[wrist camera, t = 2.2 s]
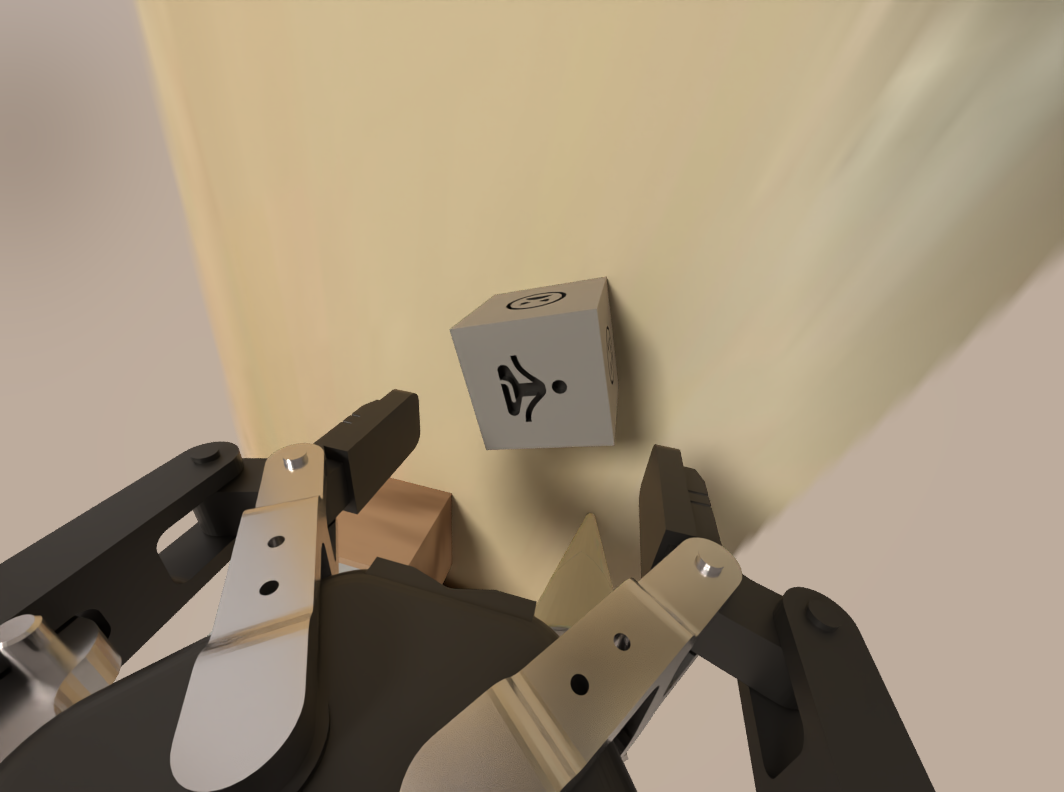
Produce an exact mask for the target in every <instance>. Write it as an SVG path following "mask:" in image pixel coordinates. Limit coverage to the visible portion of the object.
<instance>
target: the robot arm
mask: <svg viewBox="0 0 1064 792" xmlns="http://www.w3.org/2000/svg"><path fill="white" fill-rule="evenodd" d="M419 437H420V416H419V399H418V396H417V394H415V393H411V392H406V391H402V390H397V389H394V390H392V391H391V392H390V393H388V394H387V395H386V396H385V397H383V398H382V399H381V400H375V401H373V402H370V403H368V404H365V405H363V406H361V407H360V408H359V409H358V410H356V411H355V412H354V413H352V416H351V415H350V416H349V417H347V418H346V419H345V420H344V421H343V422H341V423H339V424H338V425H337V426H336V427H334V428H333V429H332V430H330V431H329V432H328V433H326V434H325V435H324V436H323V437H321V438H320V439H319V440H317V441H316V442H315V443H313V444H310V443H300V444H294V445H289V446H286V447H283V448H281V449H279V450H277V451H276V452H274V453H273V454H271V455H270V456H269V457H268V458H242V457H241V454H240V451H239V448H238V447H237V446H236V445H235V444H233V443H230V442H211V443H207V444H202V445H199V446H196V447H193V448H191V449H189V450H187V451H185V452H183V453H182V454H180V455H178V456H177V457H175V458H173V459H172V460H170V461H169V462H167V463H165V464H163V465H162V466H160V467H159V468H157V469H155V470H154V471H152V472H150V473H149V474H147V475H145V476H144V477H142V478H141V479H139V480H137V481H136V482H134V483H132V484H131V485H129V486H127V487H126V488H124V489H122V490H121V491H119V492H118V493H116V494H114V495H113V496H111V497H109V498H108V499H106V500H104V501H103V502H101V503H99V504H98V505H97V506H95V507H93V508H91V509H90V510H88V511H86V512H85V513H83V514H81V515H80V516H78V517H77V518H75V519H73V520H72V521H70V522H68V523H67V524H65V525H63V526H62V527H60V528H58V529H57V530H55V531H54V532H52V533H50V534H49V535H47V536H45V537H44V538H42V539H40V540H39V541H37V542H36V543H34V544H32V545H31V546H29V547H27V548H26V549H24V550H23V551H21V552H19V553H17V554H16V555H15V556H13V557H11V558H9V559H8V560H6V561H4V562H3V563H1V564H0V792H637V790H636V788H635V786H634V784H633V782H632V780H631V778H630V775H629V773H628V771H627V769H626V767H625V765H624V763H623V760H622V757H623V756H624V755H625V753H626V752H627V751H628V749H629V748H630V747H631V746H632V744H633V743H634V742H635V740H636V739H637V737H638V736H639V735H640V734H641V732H642V731H643V729H644V728H645V726H646V725H647V723H648V722H649V721H650V719H651V717H652V716H653V714H654V713H655V711H656V710H657V709H658V707H659V706H660V704H661V703H662V702H663V700H664V699H665V698H666V697H667V695H668V694H669V693H670V691H671V690H672V689H673V688H674V686H675V685H676V684H677V682H678V681H679V680H680V679H681V677H682V676H683V675H684V673H685V672H686V671H687V669H688V668H689V667H690V666H691V664H692V663H693V662H694V660H695V659H696V658H697V657H698V655H699V656H701V657H703V658H704V659H706V660H707V661H709V662H711V663H712V664H714V665H715V666H717V667H719V668H720V669H722V670H724V671H725V672H727V673H728V674H730V675H732V676H733V677H735V678H737V680H738V686H739V692H740V698H741V704H742V710H743V716H744V722H745V727H746V734H747V739H748V746H749V751H750V757H751V763H752V769H753V775H754V781H755V787H756V792H935V790H934V787H933V786H932V783H931V781H930V779H929V777H928V775H927V773H926V771H925V769H924V766H923V764H922V762H921V760H920V758H919V756H918V754H917V752H916V749H915V747H914V745H913V743H912V741H911V739H910V737H909V735H908V733H907V731H906V729H905V726H904V724H903V722H902V720H901V718H900V716H899V714H898V711H897V709H896V707H895V706H894V703H893V701H892V699H891V697H890V695H889V693H888V691H887V688H886V686H885V684H884V682H883V680H882V678H881V676H880V674H879V671H878V669H877V667H876V665H875V663H874V661H873V659H872V656H871V654H870V652H869V650H868V648H867V646H866V644H865V642H864V640H863V638H862V635H861V633H860V631H859V629H858V627H857V626H856V624H855V623H854V621H853V620H852V618H851V617H850V616H849V615H848V614H847V613H846V612H845V611H844V610H843V609H842V608H841V607H840V606H839V605H838V604H836V603H835V602H834V601H832V600H831V599H829V598H828V597H826V596H825V595H823V594H821V593H819V592H817V591H814V590H811V589H808V588H804V587H794V588H790V589H789V590H787V591H786V592H785V594H784V595H783V596H782V595H780V594H777V593H775V592H774V591H772V590H770V589H767V588H766V587H764V586H762V585H760V584H758V583H756V582H754V581H752V580H750V579H749V578H747V577H746V576H744V575H743V574H742V571H741V568H740V565H739V563H738V562H737V560H736V559H735V558H734V556H733V555H732V554H731V553H730V552H729V551H727V550H726V549H725V548H724V547H722V545H721V541H720V537H719V534H718V530H717V526H716V522H715V518H714V515H713V511H712V508H711V503H710V500H709V497H708V492H707V488H706V485H705V481H704V480H703V479H702V478H701V476H700V475H699V474H698V473H697V471H696V470H695V469H692V468H687V467H683V462H682V457H681V452H680V450H679V449H675V448H670V447H665V446H661V445H656V444H655V445H654V446H653V449H652V452H651V455H650V458H649V461H648V464H647V467H646V471H645V474H644V477H643V480H642V484H641V488H640V495H639V518H640V550H641V580H639V581H638V582H637V581H636V580H635V579H634V578H629V579H627V580H626V581H624V582H623V583H622V584H621V585H620V586H618V587H617V588H616V589H615V590H614V591H613V592H612V593H610V594H609V595H608V596H607V597H606V598H605V599H603V600H602V601H601V602H600V603H599V604H598V605H596V606H595V607H594V608H593V609H592V610H591V611H589V612H588V613H587V614H586V615H585V616H584V617H582V618H581V619H580V620H579V621H578V622H577V623H575V624H574V625H573V626H572V627H571V628H570V629H568V630H567V631H566V632H565V633H564V634H563V635H562V636H559V635H558V634H557V633H556V632H555V631H554V630H553V629H552V628H551V627H549V626H548V625H547V624H545V623H544V622H543V621H541V620H540V619H538V618H537V617H535V616H534V613H535V608H536V601H532V600H528V599H525V598H521V597H518V596H514V595H511V594H507V593H504V592H500V591H497V590H476V589H451V588H448V587H446V586H444V585H443V584H441V583H439V582H438V581H436V580H434V579H433V578H431V577H429V576H428V575H426V574H425V573H423V572H421V571H420V570H418V569H416V568H415V567H412V566H409V565H405V564H401V563H398V562H394V561H391V560H387V559H384V558H380V557H376V559H375V560H374V561H373V563H372V564H371V566H370V567H369V568H368V569H360V570H352V571H346V572H342V573H339V553H338V520H337V516H338V515H339V514H340V513H341V512H342V511H346V512H350V513H354V514H357V515H358V514H359V512H360V511H361V510H362V509H363V508H364V507H365V505H366V504H367V503H368V502H369V501H370V500H371V498H372V497H373V496H374V495H375V494H376V493H377V492H378V490H379V489H380V488H381V487H382V486H383V485H384V483H385V482H386V481H387V480H388V479H389V478H390V476H391V475H392V474H393V473H394V472H395V471H396V470H397V468H398V467H399V466H400V465H401V464H402V463H403V461H404V460H405V459H406V458H407V457H408V456H409V454H410V453H411V452H412V451H413V450H414V449H415V447H416V445H417V443H418V441H419ZM192 510H193V511H194V513H195V516H196V518H197V520H198V523H196V524H195V525H194V526H193V527H191V528H190V529H189V530H188V531H187V532H185V533H184V534H183V535H182V536H180V537H179V538H178V539H177V540H175V541H174V542H173V543H172V544H171V545H169V546H168V547H167V548H165V549H164V550H163V551H162V552H160V553H159V554H158V553H157V549H156V547H157V543H158V540H159V538H160V536H161V535H162V534H163V533H164V532H165V531H166V530H167V529H168V528H169V527H171V526H172V525H173V524H175V523H176V522H177V521H179V520H180V519H181V518H183V517H184V516H185V515H187V514H188V513H189V512H190V511H192ZM229 561H230V564H229V568H228V572H227V576H226V579H225V583H224V587H223V591H222V595H221V599H220V603H219V607H218V610H217V614H216V618H215V622H214V626H213V630H212V634H211V635H209V636H207V637H205V638H203V639H201V640H199V641H197V642H195V643H193V644H191V645H189V646H187V647H185V648H183V649H181V650H179V651H177V652H175V653H173V654H171V655H169V656H167V657H165V658H163V659H161V660H159V661H157V662H155V663H153V664H151V665H149V666H147V667H145V668H143V669H141V670H139V671H137V672H135V673H133V674H131V675H129V676H127V677H125V678H123V679H121V680H119V681H117V682H115V683H113V682H114V681H115V679H116V677H117V675H118V674H119V671H120V668H121V666H122V665H123V664H124V663H126V662H127V660H129V658H131V657H132V656H133V655H134V654H135V653H136V652H137V651H138V650H139V649H140V648H141V647H142V646H143V645H144V644H145V643H146V642H147V641H148V640H149V639H150V638H151V637H152V636H153V635H154V634H155V633H156V632H157V631H158V630H159V629H160V628H161V627H162V626H163V625H164V624H165V623H167V622H168V621H169V620H170V619H171V617H172V616H174V615H175V614H176V613H177V611H179V610H180V609H181V608H182V607H183V606H184V605H185V604H186V603H187V602H188V601H189V600H190V599H191V598H192V597H193V596H194V595H195V594H196V593H197V592H198V591H199V590H200V589H201V588H202V587H203V586H204V585H205V584H206V583H207V582H209V581H210V580H211V579H212V577H214V576H215V575H216V574H217V573H218V572H219V571H220V570H221V569H222V568H223V567H224V566H225V565H226V564H227V563H228V562H229Z"/></svg>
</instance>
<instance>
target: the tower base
mask: <svg viewBox="0 0 1064 792" xmlns="http://www.w3.org/2000/svg"><path fill="white" fill-rule="evenodd" d="M337 520H338V553H339V563H341V564H345V565H348V566H351V567H355V568H358V569H368V568H369V567H370V566H371V564H372V563H373V561H374V560H375V559H376V557H380V558H384V559H387V560H391V561H394V562H398V563H401V564H405V565H409V566H412V567H415V568H416V569H418V570H420V571H421V572H423V573H425V574H426V575H428V576H429V577H431V578H433V579H434V580H436V581H438V582H439V583H441V584H443V582H444V580H445V578H446V576H447V574H448V572H449V570H450V567H451V565H452V493H448V492H444V491H440V490H436V489H432V488H428V487H424V486H420V485H416V484H413V483H409V482H405V481H401V480H397V479H393V478H389V479H388V480H387V481H386V482H385V483H384V485H383V486H382V487H381V488H380V489H379V490H378V492H377V493H376V494H375V495H374V496H373V497H372V498H371V500H370V501H369V502H368V503H367V504H366V505H365V507H364V508H363V509H362V510H361V511H360V512H359V514H358V515H357V514H354V513H350V512H346V511H342V512H341V513H340V514H339V515H338V516H337Z"/></svg>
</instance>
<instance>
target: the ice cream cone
mask: <svg viewBox="0 0 1064 792" xmlns="http://www.w3.org/2000/svg"><path fill="white" fill-rule="evenodd" d="M612 592H613V587H612V583H611V579H610V575H609V571H608V567H607V563H606V559H605V555H604V550H603V546H602V542H601V538H600V534H599V530H598V526H597V522H596V518H595V515H594V514H592V513H588V514H587V515H586V517H585V519H584V520H583V522H582V524H581V526H580V528H579V529H578V531H577V533H576V535H575V536H574V538H573V540H572V542H571V544H570V545H569V547H568V549H567V551H566V552H565V554H564V556H563V558H562V559H561V561H560V563H559V565H558V567H557V568H556V570H555V572H554V574H553V575H552V577H551V579H550V581H549V583H548V585H547V587H546V589H545V590H544V592H543V594H542V596H541V597H540V599H539V601H538V603H537V605H536V608H535V613H534V616H535V617H537V618H538V619H540V620H541V621H543V622H544V623H545V624H547V625H548V626H549V627H551V628H552V629H553V630H554V631H555V632H556V633H557V634H558V635H559V636H562V635H563V634H564V633H565V632H566V631H567V630H568V629H570V628H571V627H572V626H573V625H574V624H575V623H577V622H578V621H579V620H580V619H581V618H582V617H584V616H585V615H586V614H587V613H588V612H589V611H591V610H592V609H593V608H594V607H595V606H596V605H598V604H599V603H600V602H601V601H602V600H603V599H605V598H606V597H607V596H608V595H609V594H610V593H612ZM627 759H628V757H627V752H626V753H625V755H624V756H623V757H622V760H623V762H624V761H626V760H627Z"/></svg>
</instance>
